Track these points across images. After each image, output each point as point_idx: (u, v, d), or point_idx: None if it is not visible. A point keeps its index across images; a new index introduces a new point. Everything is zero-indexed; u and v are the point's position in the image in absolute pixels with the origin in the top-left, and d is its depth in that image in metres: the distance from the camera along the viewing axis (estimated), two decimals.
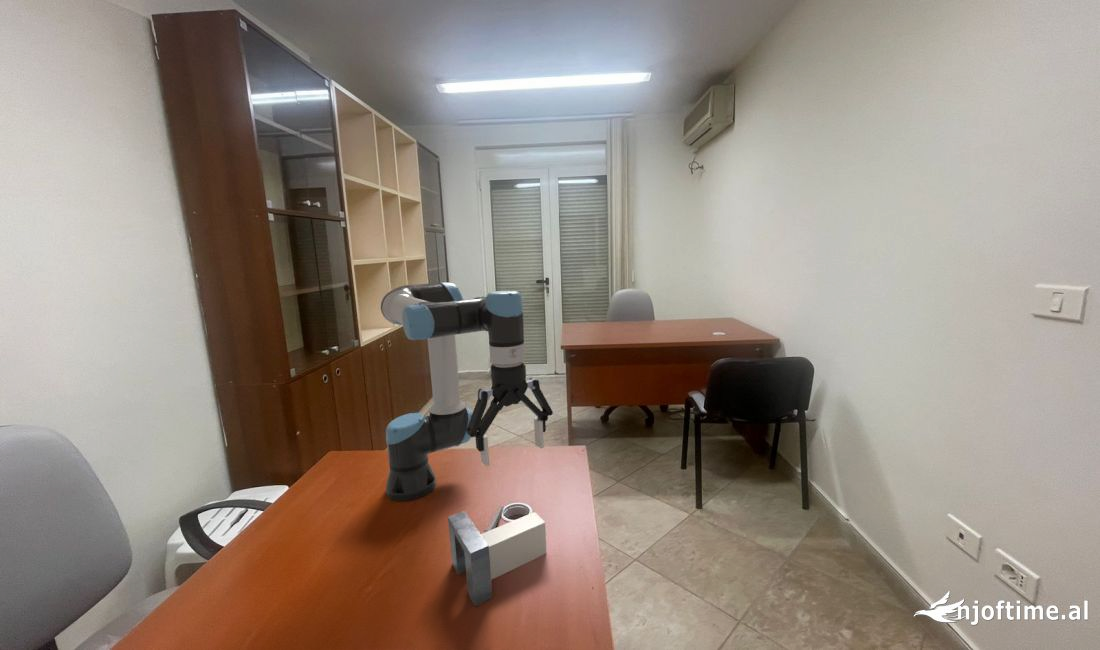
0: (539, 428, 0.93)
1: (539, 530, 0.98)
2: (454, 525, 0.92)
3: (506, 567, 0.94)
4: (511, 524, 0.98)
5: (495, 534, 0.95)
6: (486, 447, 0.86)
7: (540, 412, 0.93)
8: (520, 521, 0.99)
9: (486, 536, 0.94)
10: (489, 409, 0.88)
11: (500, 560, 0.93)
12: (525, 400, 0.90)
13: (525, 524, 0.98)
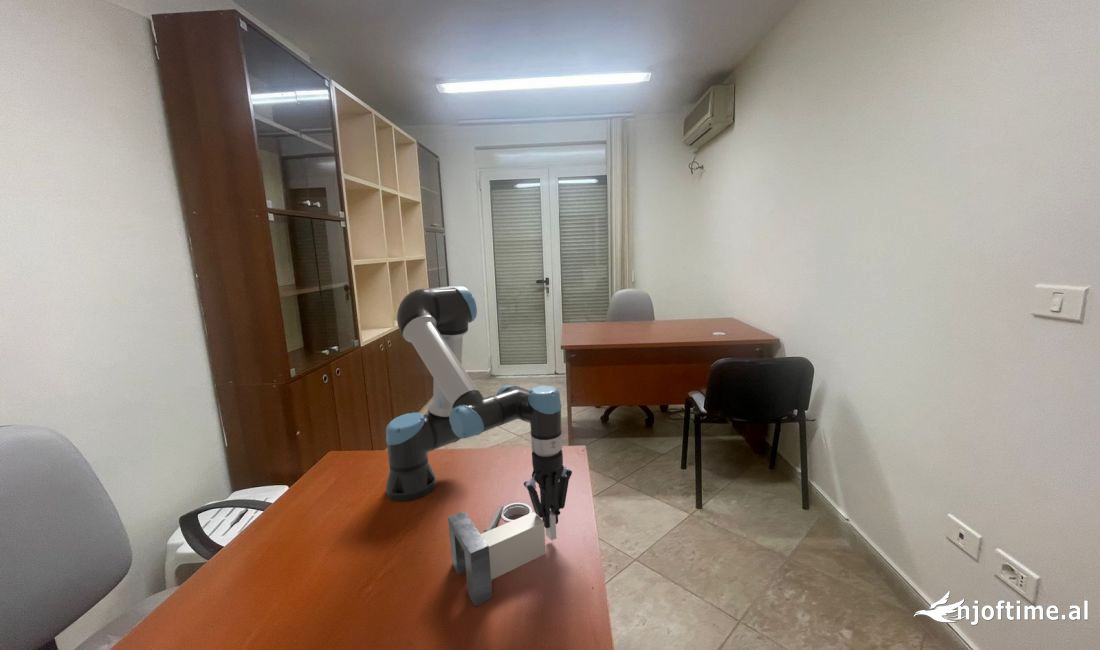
0: None
1: (538, 530, 0.98)
2: (454, 525, 0.92)
3: (505, 567, 0.94)
4: (510, 524, 0.98)
5: (494, 534, 0.95)
6: (552, 525, 1.01)
7: (557, 505, 1.02)
8: (519, 521, 0.99)
9: (485, 536, 0.94)
10: (541, 493, 1.01)
11: (499, 560, 0.93)
12: (555, 486, 1.00)
13: (524, 524, 0.98)
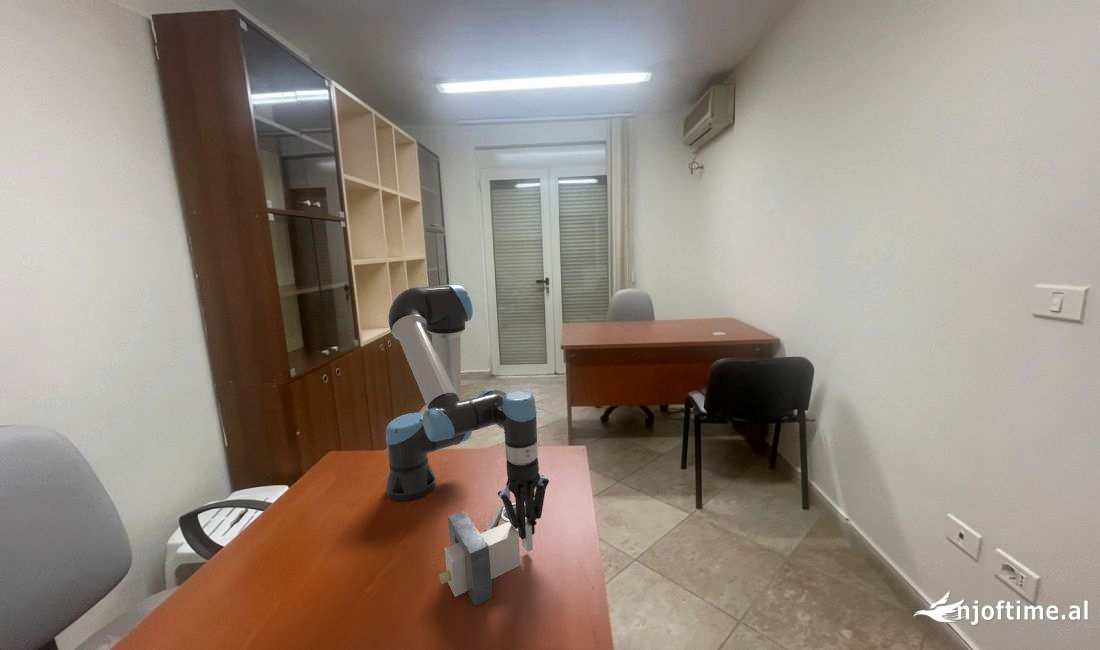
0: (528, 532, 0.98)
1: (513, 541, 0.94)
2: (454, 525, 0.92)
3: None
4: (483, 535, 0.94)
5: None
6: (527, 535, 0.98)
7: (533, 515, 0.98)
8: (493, 532, 0.95)
9: (456, 547, 0.91)
10: (516, 502, 0.97)
11: None
12: (531, 495, 0.97)
13: (497, 534, 0.94)
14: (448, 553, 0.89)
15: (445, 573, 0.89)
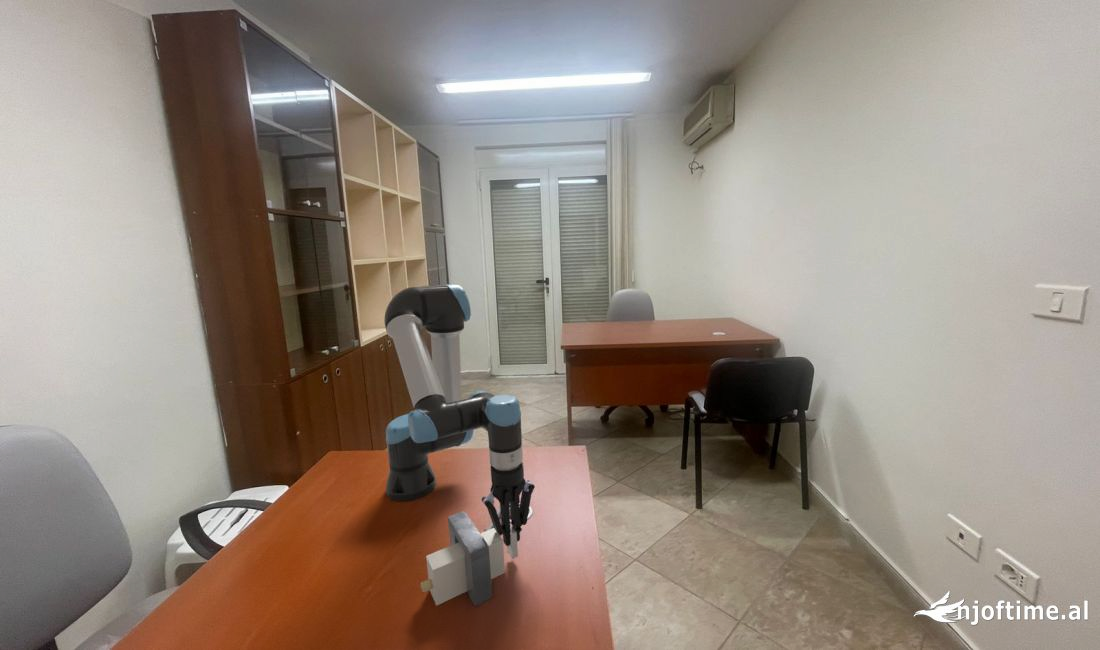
0: None
1: (497, 548, 0.92)
2: (454, 525, 0.92)
3: (459, 588, 0.88)
4: None
5: (448, 552, 0.89)
6: (512, 542, 0.96)
7: (518, 521, 0.96)
8: None
9: (438, 555, 0.89)
10: (501, 508, 0.95)
11: (452, 581, 0.87)
12: (516, 501, 0.94)
13: None
14: (429, 561, 0.87)
15: (426, 581, 0.87)
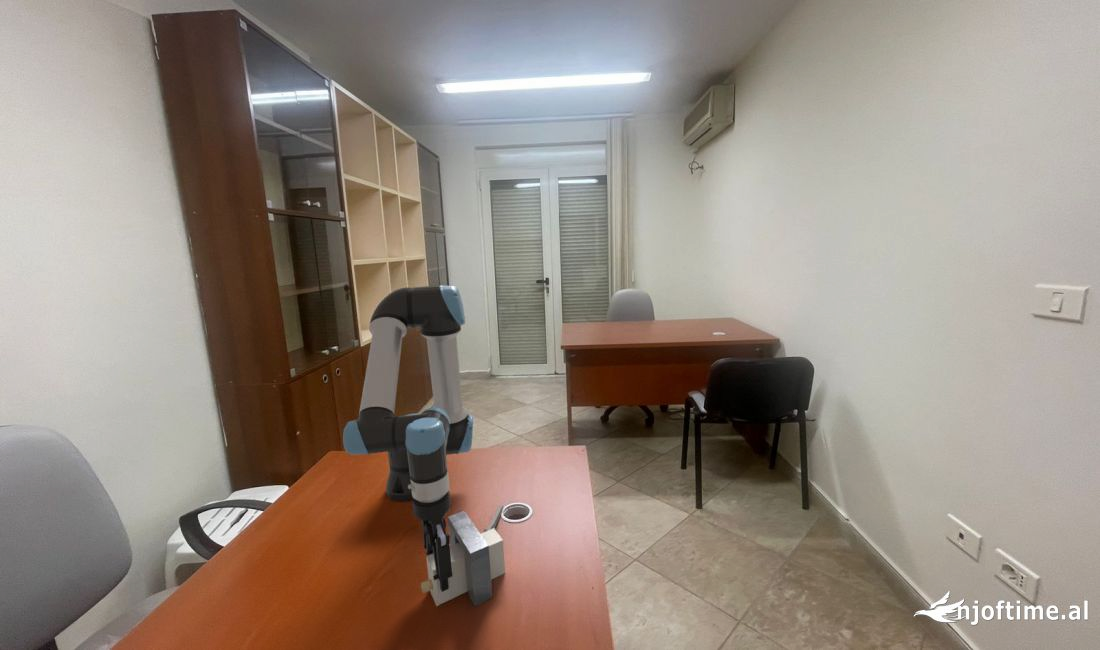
0: None
1: (497, 548, 0.92)
2: (454, 525, 0.92)
3: (459, 589, 0.88)
4: None
5: None
6: None
7: (436, 567, 0.84)
8: None
9: None
10: None
11: (452, 581, 0.87)
12: (429, 540, 0.84)
13: None
14: (430, 561, 0.87)
15: (426, 582, 0.87)
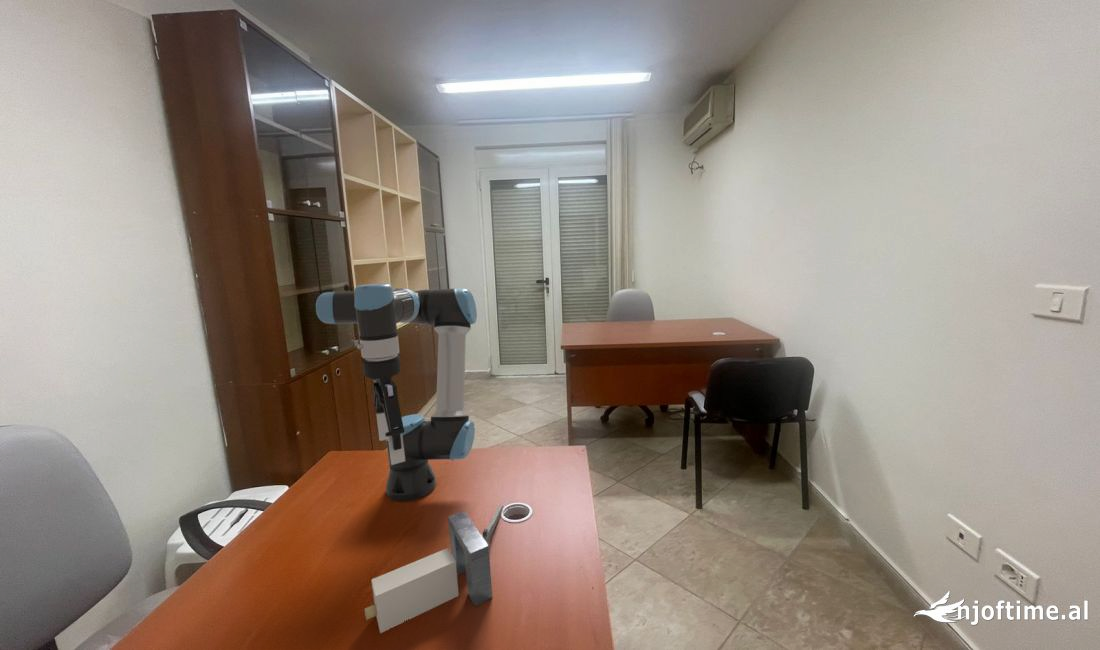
0: None
1: (449, 570, 0.86)
2: (454, 525, 0.92)
3: (406, 614, 0.83)
4: (417, 564, 0.87)
5: (395, 576, 0.84)
6: (377, 423, 0.95)
7: (387, 425, 0.83)
8: (428, 560, 0.88)
9: (384, 579, 0.83)
10: None
11: (398, 607, 0.81)
12: (379, 401, 0.85)
13: (432, 563, 0.87)
14: (374, 585, 0.81)
15: (370, 607, 0.81)
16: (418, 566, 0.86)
